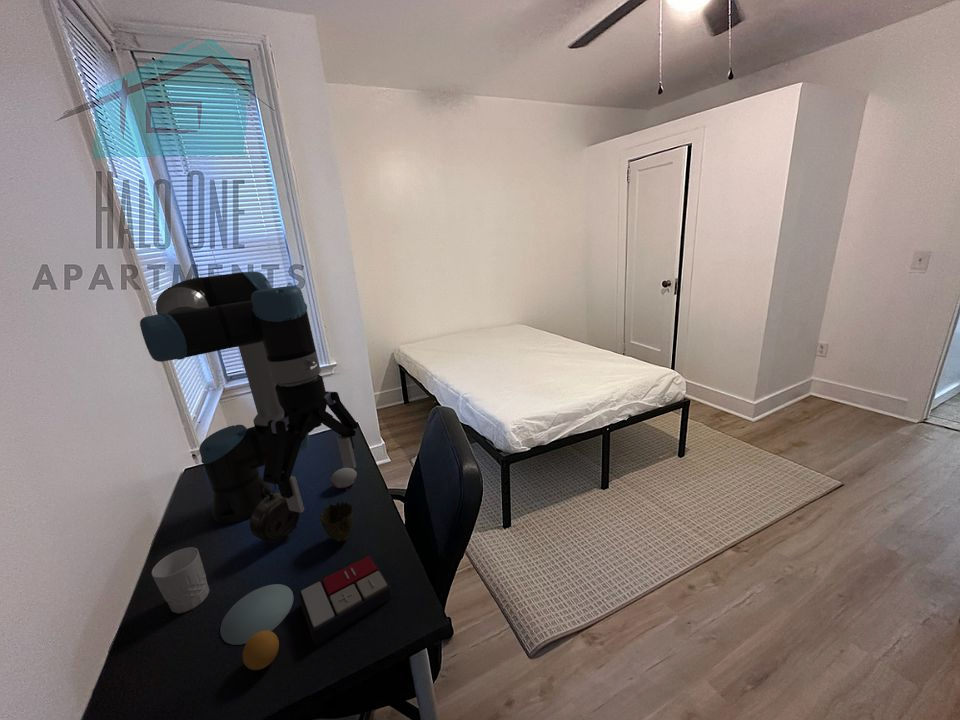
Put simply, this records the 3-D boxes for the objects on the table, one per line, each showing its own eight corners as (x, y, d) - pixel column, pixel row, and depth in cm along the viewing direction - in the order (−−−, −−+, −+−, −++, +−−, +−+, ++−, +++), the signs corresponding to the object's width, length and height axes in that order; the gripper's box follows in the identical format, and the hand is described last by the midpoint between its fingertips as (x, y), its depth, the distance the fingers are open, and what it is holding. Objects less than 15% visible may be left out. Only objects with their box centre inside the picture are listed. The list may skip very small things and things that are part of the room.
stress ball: (358, 487, 121) (353, 467, 123) (361, 485, 115) (355, 463, 116) (333, 496, 118) (328, 474, 120) (334, 494, 111) (328, 471, 113)
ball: (243, 662, 68) (234, 639, 67) (276, 639, 72) (268, 617, 70) (252, 685, 64) (243, 661, 63) (286, 659, 68) (279, 636, 66)
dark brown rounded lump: (348, 551, 91) (341, 523, 89) (320, 548, 93) (313, 521, 91) (363, 528, 98) (357, 502, 96) (337, 526, 100) (330, 500, 98)
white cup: (177, 622, 77) (160, 583, 74) (161, 606, 82) (144, 568, 79) (219, 592, 84) (205, 554, 81) (202, 578, 88) (188, 542, 85)
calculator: (390, 584, 77) (311, 629, 69) (393, 601, 78) (315, 647, 70) (370, 552, 86) (297, 588, 77) (372, 568, 87) (300, 605, 79)
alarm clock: (296, 522, 103) (281, 469, 99) (309, 527, 101) (294, 473, 96) (256, 550, 95) (238, 494, 90) (269, 558, 92) (251, 499, 87)
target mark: (213, 615, 78) (213, 614, 78) (281, 574, 87) (280, 574, 86) (229, 659, 69) (229, 659, 69) (303, 609, 77) (302, 608, 77)
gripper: (248, 411, 54) (286, 537, 60) (362, 357, 76) (382, 454, 82) (212, 407, 57) (251, 528, 63) (332, 357, 79) (353, 450, 84)
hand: (325, 486), depth 72 cm, fingers open, 13 cm apart
